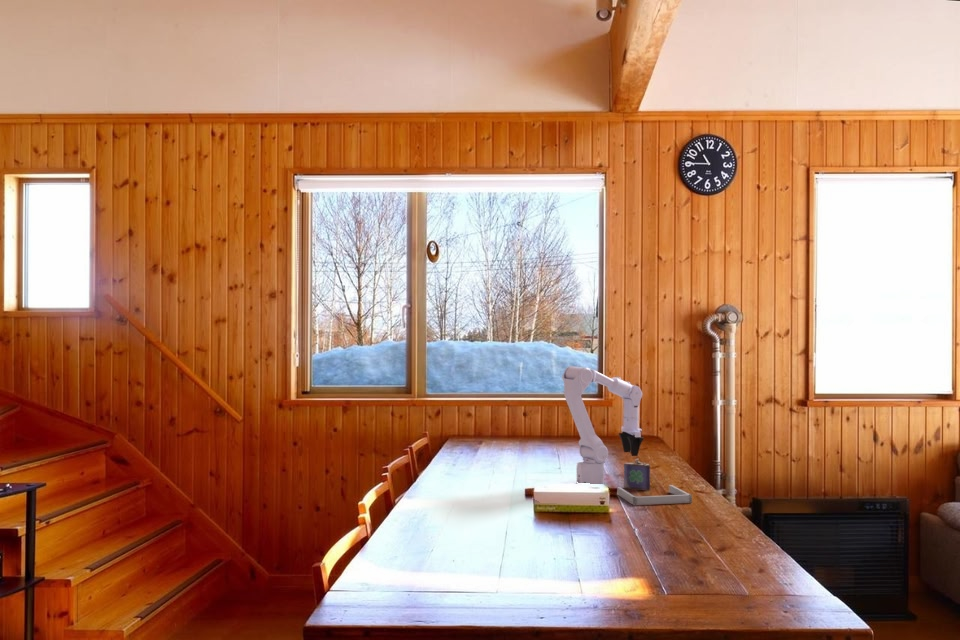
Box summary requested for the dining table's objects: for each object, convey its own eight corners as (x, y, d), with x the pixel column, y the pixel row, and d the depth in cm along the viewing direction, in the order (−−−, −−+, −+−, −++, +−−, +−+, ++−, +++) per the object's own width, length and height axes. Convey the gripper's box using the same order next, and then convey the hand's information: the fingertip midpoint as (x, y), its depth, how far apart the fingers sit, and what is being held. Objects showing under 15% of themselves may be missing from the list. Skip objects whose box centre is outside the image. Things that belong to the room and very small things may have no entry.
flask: (623, 488, 262) (623, 458, 262) (625, 486, 265) (625, 456, 265) (649, 491, 258) (649, 460, 258) (650, 489, 261) (651, 459, 261)
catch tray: (633, 505, 238) (633, 497, 238) (617, 494, 253) (617, 487, 253) (691, 502, 242) (691, 495, 242) (671, 492, 256) (671, 484, 256)
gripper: (648, 419, 267) (648, 457, 267) (634, 414, 281) (633, 450, 281) (630, 419, 265) (629, 457, 265) (616, 414, 280) (616, 450, 280)
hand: (630, 453), depth 273 cm, fingers open, 7 cm apart
